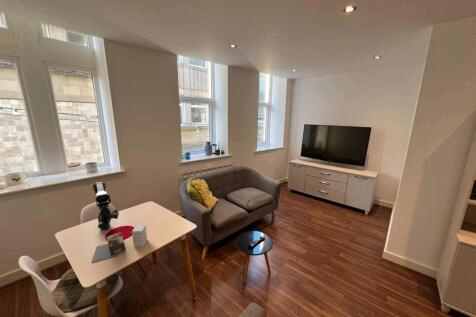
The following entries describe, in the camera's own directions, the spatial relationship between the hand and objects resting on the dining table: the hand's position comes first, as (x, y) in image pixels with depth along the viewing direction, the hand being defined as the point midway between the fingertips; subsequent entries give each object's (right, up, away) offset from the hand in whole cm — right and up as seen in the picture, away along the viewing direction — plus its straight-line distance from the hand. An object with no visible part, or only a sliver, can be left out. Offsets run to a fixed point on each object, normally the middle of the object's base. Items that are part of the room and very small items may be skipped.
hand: (107, 230), depth 142 cm
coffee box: (+4, -7, +3) cm, 9 cm away
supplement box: (+23, -12, +4) cm, 26 cm away
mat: (+4, -13, -5) cm, 15 cm away
